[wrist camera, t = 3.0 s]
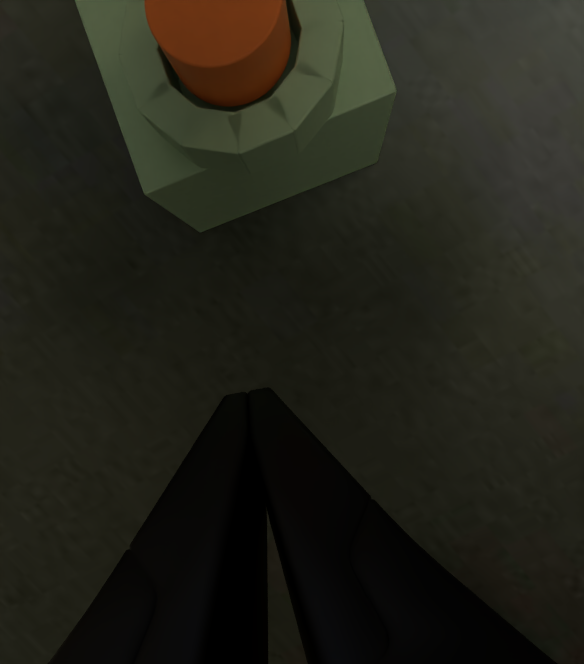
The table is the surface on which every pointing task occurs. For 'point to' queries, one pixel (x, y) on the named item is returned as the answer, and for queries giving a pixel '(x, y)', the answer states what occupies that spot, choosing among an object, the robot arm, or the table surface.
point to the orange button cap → (223, 45)
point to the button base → (246, 112)
